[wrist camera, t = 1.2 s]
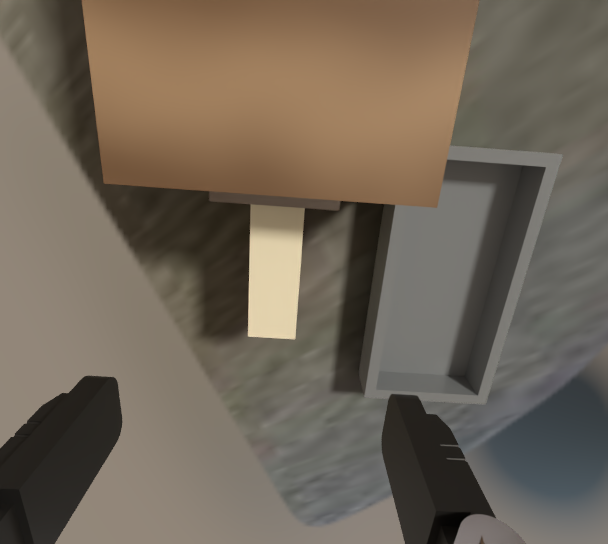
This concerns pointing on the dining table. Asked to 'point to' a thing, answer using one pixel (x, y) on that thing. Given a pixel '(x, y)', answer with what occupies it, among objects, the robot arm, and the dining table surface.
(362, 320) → the dining table surface
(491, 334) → the tray
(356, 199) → the wooden block
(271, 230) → the cream rectangular block
